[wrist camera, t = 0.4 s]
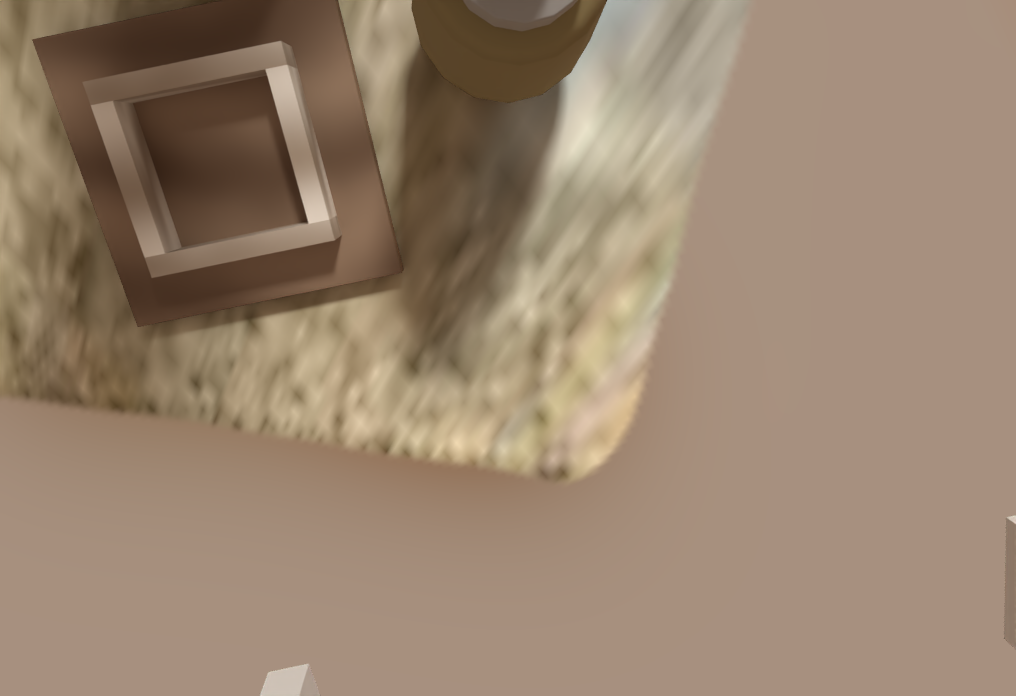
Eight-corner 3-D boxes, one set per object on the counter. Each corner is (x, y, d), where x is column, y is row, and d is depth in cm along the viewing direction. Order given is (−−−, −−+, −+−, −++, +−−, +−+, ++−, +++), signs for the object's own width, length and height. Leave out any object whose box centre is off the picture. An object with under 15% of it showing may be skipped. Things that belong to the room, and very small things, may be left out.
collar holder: (44, 42, 33) (4, 33, 30) (333, -18, 33) (320, -33, 30) (146, 322, 37) (119, 337, 34) (403, 269, 37) (398, 279, 34)
